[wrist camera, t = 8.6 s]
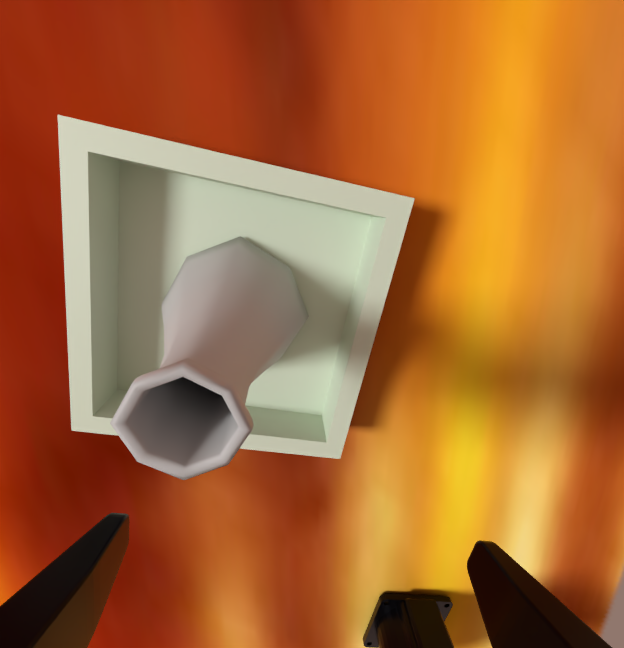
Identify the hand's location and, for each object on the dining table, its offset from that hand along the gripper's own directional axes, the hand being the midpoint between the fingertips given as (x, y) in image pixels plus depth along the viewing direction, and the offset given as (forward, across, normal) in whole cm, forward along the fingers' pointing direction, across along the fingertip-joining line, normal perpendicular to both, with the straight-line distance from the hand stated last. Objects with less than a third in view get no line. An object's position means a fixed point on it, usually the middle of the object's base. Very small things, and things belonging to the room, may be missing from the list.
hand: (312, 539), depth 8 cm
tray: (+11, +4, -2) cm, 12 cm away
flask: (+11, +4, -2) cm, 12 cm away
